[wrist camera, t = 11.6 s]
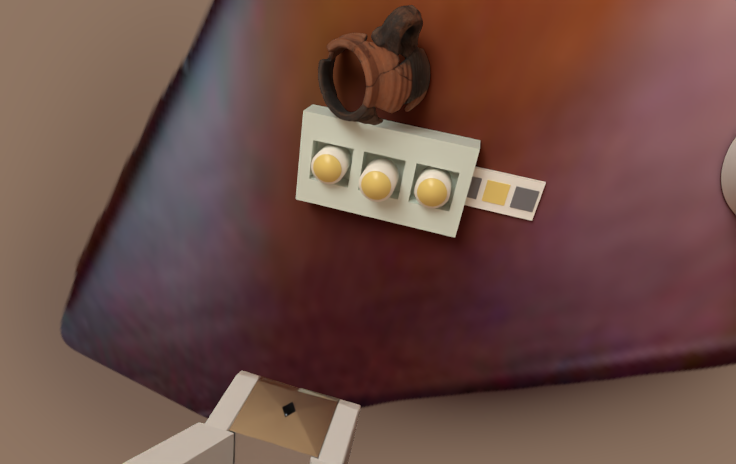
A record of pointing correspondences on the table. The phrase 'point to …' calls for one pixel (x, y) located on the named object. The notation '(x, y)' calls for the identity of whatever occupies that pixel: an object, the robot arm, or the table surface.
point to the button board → (402, 148)
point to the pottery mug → (382, 67)
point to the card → (504, 193)
